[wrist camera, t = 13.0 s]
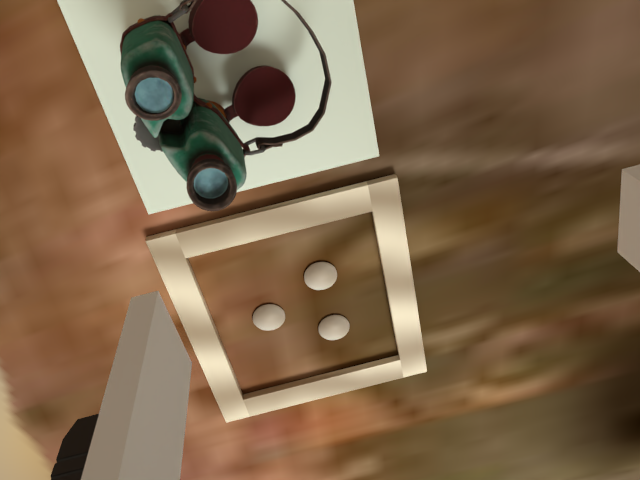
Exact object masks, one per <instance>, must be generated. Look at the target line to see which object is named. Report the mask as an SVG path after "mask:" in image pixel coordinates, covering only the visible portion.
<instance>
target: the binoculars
mask: <svg viewBox="0 0 640 480" xmlns="http://www.w3.org/2000/svg"><path fill="white" fill-rule="evenodd" d="M281 1H282V2H283V3H284V4H286V5H287V6H288V7H289V8H290V9H291V10H292V11H293V12H294V13H295V14H296V16H297V17H298V18H299V19H300V21H301V22H302V23H303V25H304V26H305V27H306V29H307V30H308V32H309V34H310V36H311V37H312V39H313V41H314V43H315V45H316V46H317V48H318V50H319V53H320V57H321V62H322V66H323V71H324V76H325V81H324V86H323V91H322V96H321V100H320V105H319V109H318V110H317V112H316V113H315V115H314V116H313V118H312V119H311V121H310V122H309V124H307V125H306V126H304V127H302V128H300V129H298V130H296V131H294V132H293V133H289V134H285V135H281V136H277V137H273V138H272V137H256V138H253V139H251V140H249V141H247V142H245V143H243V142H242V141H241V139H240V138H239V137H238V135H237V133H236V131H235V130H234V129H233V128H232V126H231V125H230V124H229V123H230V121H231V120H232V119H233V118H235V117H237V116H239V118H240V119H242V120H243V121H245V122H246V123H249V124H251V125H255V126H272V125H276V124H278V123H281V122H282V121H284V120H285V119H286V118H287V117H288V116H289V115H290V113H291V112H292V110H293V108H294V104H295V98H296V94H295V88H294V85H293V83H292V81H291V80H290V78H289V77H288V76H287V75H286V74H285V73H284V72H282V71H281V70H279V69H277V68H274V67H271V66H264V65H263V66H256V67H254V68H251V69H250V70H248V71H247V72H245V74H244V75H243V76H242V77H241V78H240V79H239V81H238V82H237V84H236V86H235V89H234V92H233V96H232V105H230V106H228V107H226V108H225V109H224V108H223V107H222V106H221V105H220V104H218V103H216V102H213V101H210V100H205V99H202V98H197V97H196V96H195V94H194V83H196V81H197V78H196V77H195V76H194V69H193V66H192V64H191V61H190V59H189V57H188V55H187V52H186V49H187V46H188V45H189V44H190V43H192V42H194V41H195V42H196V43H197V44H198V45H199V46H200V47H201V48H203V49H204V50H206V51H209V52H212V53H216V54H232V53H236V52H238V51H241V50H243V49H244V48H245V47H247V46H248V45H249V44H250V43H251V42H252V40H253V38H254V37H255V35H256V32H257V28H258V15H257V11H256V8H255V6H254V4H253V3H252V1H251V0H184V1H182V2H181V3H180V5H179V6H178V7H177V8H176V9H174V10H173V11H172V12H171V13H168V14H167V15H166V16H160V15H154V16H151V17H148V18H145V19H142V18H140V19H139V20H138V22H137V23H135V24H133V25H131V26H129V27H128V28H127V29H126V30H125V31H124V32H123V34H122V38H121V43H120V52H121V63H120V64H121V73H122V77H123V80H124V84H125V86H126V91H125V100H126V104H127V106H128V107H129V109H130V110H131V111H132V112H133V113H134V114H135V115H136V117H135V121H136V122H135V123H134V127H133V130H134V131H135V132H136V135H135V137H136V139H137V140H139V141H140V142H141V143H142V146H143V147H145V148H146V147H147V148H149V149H151V151H154V152H155V151H156V150H160V151H161V152H164V154H165V155H166V157H167V158H168V160H169V162H170V163H171V164H172V166H173V167H174V168H175V170H176V171H177V172H178V174H179V175H180V176H181V177H182V178H183V179H184V180H185V181H186V182H187V187H186V188H187V193H188V195H189V197H190V199H191V200H192V202H193V203H194V204H195V205H196V206H198V207H199V208H201V209H203V210H207V211H218V210H221V209H224V208H226V207H227V206H228V205H230V203H231V202H232V201H233V200H234V198H235V196H236V192H237V190H238V189H239V188H241V187H242V186H243V184H244V183H245V180H246V175H247V172H246V165H245V159H244V158H245V156H246V155H255V154H259V153H263V152H264V151H265V150H267V149H269V148H272V147H282V145H283V143H287V142H291V141H295V140H297V139H299V138H301V137H303V136H305V135H307V134H308V133H310V132H312V131H314V129H315V128H316V126H317V125H318V123H319V122H320V120H321V119H322V117H323V116H324V114H325V111H326V106H327V102H328V97H329V92H330V88H331V83H332V82H331V77H330V72H329V68H328V63H327V58H326V54H325V52H324V50H323V48H322V47H321V45H320V43H319V41H318V39H317V37H316V36H315V34H314V32H313V31H312V29H311V28H310V27H309V25H308V24H307V23H306V21H305V20H304V19H303V17H302V16H301V15H300V13H299V12H298V11H297V10H295V9H294V8H293V7H292V6H291V5H290V4H289V3H288V2H287V1H286V0H281ZM190 2H191V3H190ZM188 3H190V4H189V5H187V4H188ZM190 10H191V11H190ZM189 11H190V15H189V20H188V25H189V28H187V29H185V30H183V31H182V32H181V33H180V34H179V33H178V32H177V29H176V27H175V25H174V22H173V21H175V20H176V19H178V18H179V17H180V16H182V15H183V14H187V13H188V12H189ZM254 142H255V143H256V146H257V148H258V150H254V151H250V148H249V146H248V145H250V144H252V143H254ZM242 147H243V149H242Z"/></svg>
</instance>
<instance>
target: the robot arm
mask: <svg viewBox="0 0 640 480" xmlns="http://www.w3.org/2000/svg"><path fill="white" fill-rule="evenodd" d="M617 252H618V253H619V254H620V255H621V256H622V257H624V258H625V259H626V260H627V261H628V262H629V263H630V264H631V265H632V266H634V267H635V268H636V269H637V270H638V271H639V272H640V165H636V166H633V167H629V168H625V169H622V178H621V196H620V214H619V232H618V251H617ZM191 367H192V362H191V360H190V358H189V355H188V353H187V351H186V349H185V347H184V345H183V343H182V341H181V338H180V336H179V334H178V332H177V330H176V328H175V326H174V323H173V321H172V319H171V317H170V315H169V313H168V311H167V308H166V306H165V304H164V302H163V300H162V298H161V296H160V294H159V291H155V292H151V293H148V294H144V295H140V296H136V297H132V298H131V301H130V304H129V308H128V311H127V315H126V319H125V322H124V326H123V329H122V333H121V337H120V340H119V344H118V347H117V351H116V355H115V358H114V362H113V365H112V369H111V373H110V376H109V380H108V383H107V387H106V391H105V394H104V398H103V401H102V405H101V409H100V412H99V414H96V415H92V416H89V417H85V418H81V419H77V421H76V422H75V424H74V425H73V426H72V428H71V429H70V430H69V432H68V433H67V435H66V436H65V437H64V439H63V441H62V444H61V447H60V450H59V453H58V456H57V459H56V460H57V463H56V464H55V465H54V468H53V471H52V474H51V480H180V474H181V464H182V454H183V445H184V435H185V425H186V416H187V406H188V396H189V387H190V377H191Z"/></svg>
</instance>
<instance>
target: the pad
mask: <svg viewBox="0 0 640 480" xmlns="http://www.w3.org/2000/svg"><path fill="white" fill-rule="evenodd" d="M57 1H58V4H59V6H60V8H61V11H62V13H63V15H64V18H65V20H66V22H67V25H68V27H69V29H70V32H71V34H72V36H73V39H74V41H75V43H76V46H77V48H78V50H79V53H80V55H81V57H82V60H83V62H84V64H85V67H86V69H87V71H88V74H89V76H90V78H91V81H92V83H93V85H94V88H95V90H96V93H97V95H98V97H99V100H100V102H101V104H102V107H103V109H104V111H105V114H106V116H107V118H108V121H109V123H110V125H111V128H112V130H113V132H114V135H115V137H116V139H117V142H118V144H119V146H120V149H121V151H122V153H123V156H124V158H125V160H126V163H127V165H128V167H129V170H130V172H131V174H132V177H133V179H134V181H135V184H136V186H137V188H138V191H139V193H140V195H141V198H142V200H143V202H144V205H145V207H146V209H147V212H148V214H152V213H156V212H160V211H164V210H168V209H172V208H176V207H180V206H184V205H188V204H192V203H193V202H192V200H191V199H190V197H189V195H188V193H187V188H186V187H187V182H186V181H185V180H184V179H183V178H182V177H181V176H180V175H179V174H178V172H177V171H176V170H175V168H174V167H173V166H172V164H171V163H170V162H169V160H168V158H167V157H166V155H165V154H164V152H161V151H160V150H156V151H155V152H154V151H151V149H149V148H147V147H146V148H145V147H143V146H142V143H141V142H140V141H139V140H137V139H136V137H135V135H136V132H135V131H134V130H133V127H134V123H135V122H136V121H135V117H136V115H135V114H134V113H133V112H132V111H131V110H130V109H129V107H128V106H127V104H126V100H125V91H126V86H125V84H124V80H123V77H122V73H121V64H120V63H121V52H120V43H121V38H122V34H123V32H124V31H125V30H126V29H127V28H128V27H129V26H131V25H133V24H135V23H137V22H138V20H139V19H140V18H142V19H145V18H148V17H151V16H154V15H160V16H166V15H167V14H168V13H171V12H172V11H173V10H174V9H176V8H177V7H178V6H179V5H180V3H181V2H182V1H184V0H57ZM251 1H252V3H253V4H254V6H255V8H256V11H257V15H258V28H257V32H256V35H255V37H254V38H253V40H252V42H251V43H250V44H249V45H248V46H247V47H245V48H244V49H243V50H241V51H238V52H236V53H232V54H216V53H212V52H209V51H206V50H204V49H203V48H201V47H200V46H199V45H198V44H197V43H196V42H195V41H194V42H192V43H190V44H189V45H188V46H187V49H186V52H187V55H188V57H189V59H190V61H191V64H192V66H193V69H194V76H195V77H196V78H197V81H196V83H194V94H195V96H196V97H197V98H202V99H205V100H210V101H213V102H216V103H218V104H220V105H221V106H222V107H223V108H224V109H225V108H226V107H228V106H230V105H232V96H233V92H234V89H235V86H236V84H237V82H238V81H239V79H240V78H241V77H242V76H243V75H244V74H245V72H247V71H248V70H250V69H251V68H254V67H256V66H263V65H264V66H271V67H274V68H277V69H279V70H281V71H282V72H284V73H285V74H286V75H287V76H288V77H289V78H290V80H291V81H292V83H293V85H294V88H295V94H296V98H295V104H294V108H293V110H292V112H291V113H290V115H289V116H288V117H287V118H286V119H285V120H284V121H282V122H281V123H278V124H276V125H272V126H255V125H251V124H249V123H246V122H245V121H243V120H242V119H240V118H239V116H237V117H235V118H233V119H232V120H231V121H230V123H229V124H230V125H231V126H232V128H233V129H234V130H235V131H236V133H237V135H238V137H239V138H240V139H241V141H242V142H243V143H245V142H247V141H249V140H251V139H253V138H256V137H272V138H273V137H277V136H281V135H285V134H289V133H293V132H294V131H296V130H298V129H300V128H302V127H304V126H306V125H307V124H309V122H310V121H311V119H312V118H313V116H314V115H315V113H316V112H317V110H318V109H319V105H320V100H321V96H322V91H323V86H324V81H325V76H324V71H323V66H322V62H321V57H320V53H319V50H318V48H317V46H316V45H315V43H314V41H313V39H312V37H311V36H310V34H309V32H308V30H307V29H306V27H305V26H304V25H303V23H302V22H301V21H300V19H299V18H298V17H297V16H296V14H295V13H294V12H293V11H292V10H291V9H290V8H289V7H288V6H287V5H286V4H284V3H283V2H282V1H281V0H251ZM286 1H287V2H288V3H289V4H290V5H291V6H292V7H293V8H294V9H295V10H297V11H298V12H299V13H300V15H301V16H302V17H303V19H304V20H305V21H306V23H307V24H308V25H309V27H310V28H311V29H312V31H313V32H314V34H315V36H316V37H317V39H318V41H319V43H320V45H321V47H322V48H323V50H324V52H325V54H326V58H327V63H328V68H329V72H330V77H331V82H332V83H331V88H330V92H329V97H328V102H327V106H326V111H325V114H324V116H323V117H322V119H321V120H320V122H319V123H318V125H317V126H316V128H315V129H314V131H312V132H310V133H308V134H307V135H305V136H303V137H301V138H299V139H297V140H295V141H291V142H287V143H283V145H282V147H272V148H269V149H267V150H265V151H264V152H263V153H259V154H255V155H246V156H245V158H244V159H245V165H246V172H247V175H246V180H245V183H244V184H243V186H242V187H241V188H239V189H238V190H237V192H239V191H243V190H247V189H251V188H255V187H259V186H263V185H267V184H271V183H275V182H279V181H283V180H287V179H291V178H295V177H299V176H303V175H307V174H311V173H315V172H319V171H323V170H327V169H331V168H334V167H338V166H342V165H346V164H350V163H354V162H358V161H362V160H366V159H370V158H374V157H378V156H379V151H378V145H377V139H376V133H375V127H374V121H373V115H372V109H371V103H370V97H369V91H368V85H367V79H366V73H365V67H364V61H363V55H362V49H361V43H360V37H359V31H358V25H357V19H356V13H355V7H354V1H353V0H286ZM190 3H191V2H190ZM190 3H188V4H187V5H189V4H190ZM190 11H191V10H190ZM190 11H189V12H188V13H187V14H183V15H182V16H180V17H179V18H178V19H176V20H175V21H173V22H174V25H175V27H176V29H177V32H178V33H179V34H180V33H181V32H182V31H183V30H185V29H187V28H189V25H188V20H189V15H190ZM248 146H249V148H250V151H254V150H258V148H257V146H256V143H255V142H254V143H252V144H250V145H248ZM242 149H243V147H242Z"/></svg>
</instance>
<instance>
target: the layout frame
mask: <svg viewBox="0 0 640 480" xmlns="http://www.w3.org/2000/svg"><path fill="white" fill-rule="evenodd" d="M371 211H372V216H373V221H374V227H375V232H376V237H377V243H378V248H379V254H380V259H381V264H382V270H383V275H384V281H385V286H386V291H387V297H388V302H389V307H390V313H391V318H392V324H393V329H394V334H395V340H396V345H397V350H398V355H396V356H392V357H388V358H384V359H380V360H376V361H372V362H368V363H365V364H361V365H357V366H353V367H349V368H345V369H341V370H337V371H333V372H329V373H325V374H321V375H317V376H313V377H309V378H306V379H302V380H298V381H294V382H290V383H286V384H282V385H278V386H274V387H270V388H266V389H262V390H258V391H254V392H250V393H246V394H243V393H242V391H241V388H240V386H239V383H238V381H237V378H236V376H235V374H234V371H233V369H232V366H231V364H230V361H229V359H228V356H227V354H226V351H225V349H224V346H223V344H222V341H221V339H220V336H219V334H218V332H217V329H216V327H215V324H214V322H213V319H212V317H211V314H210V312H209V309H208V307H207V304H206V302H205V299H204V297H203V294H202V292H201V290H200V287H199V285H198V282H197V280H196V277H195V275H194V272H193V270H192V267H191V265H190V262H189V260H188V258H189V257H193V256H197V255H201V254H205V253H209V252H213V251H217V250H221V249H225V248H229V247H233V246H237V245H241V244H245V243H249V242H253V241H257V240H261V239H265V238H269V237H273V236H276V235H280V234H284V233H288V232H292V231H296V230H300V229H304V228H308V227H312V226H316V225H320V224H324V223H328V222H332V221H336V220H340V219H344V218H348V217H352V216H356V215H360V214H364V213H367V212H371ZM146 243H147V245H148V248H149V250H150V252H151V254H152V257H153V259H154V261H155V263H156V266H157V268H158V270H159V272H160V275H161V277H162V279H163V281H164V284H165V286H166V288H167V290H168V293H169V295H170V297H171V299H172V302H173V304H174V306H175V308H176V311H177V313H178V315H179V317H180V320H181V322H182V324H183V326H184V329H185V331H186V333H187V335H188V338H189V340H190V342H191V344H192V347H193V349H194V351H195V353H196V356H197V358H198V360H199V362H200V365H201V367H202V369H203V371H204V374H205V376H206V378H207V380H208V383H209V385H210V387H211V390H212V392H213V394H214V396H215V399H216V401H217V403H218V405H219V408H220V410H221V412H222V414H223V417H224V419H225V421H226V422H230V421H234V420H238V419H242V418H246V417H250V416H254V415H258V414H262V413H266V412H269V411H273V410H277V409H281V408H285V407H289V406H293V405H297V404H301V403H305V402H309V401H313V400H317V399H321V398H325V397H328V396H332V395H336V394H340V393H344V392H348V391H352V390H356V389H360V388H364V387H368V386H372V385H376V384H380V383H383V382H387V381H391V380H395V379H399V378H403V377H407V376H411V375H415V374H419V373H423V372H427V368H426V362H425V355H424V348H423V342H422V335H421V329H420V322H419V316H418V309H417V302H416V296H415V289H414V283H413V276H412V270H411V263H410V257H409V250H408V243H407V237H406V230H405V224H404V217H403V211H402V204H401V198H400V191H399V184H398V178H397V176H396V174H393V175H389V176H385V177H381V178H377V179H373V180H369V181H365V182H361V183H357V184H353V185H349V186H346V187H342V188H338V189H334V190H330V191H326V192H322V193H318V194H314V195H310V196H306V197H302V198H298V199H294V200H290V201H286V202H282V203H278V204H274V205H270V206H266V207H262V208H258V209H254V210H250V211H246V212H242V213H239V214H235V215H231V216H227V217H223V218H219V219H215V220H211V221H207V222H203V223H199V224H195V225H191V226H187V227H183V228H179V229H175V230H171V231H167V232H163V233H159V234H155V235H151V236H147V238H146ZM336 279H337V271H336V269H335V267H334V266H333V265H332V264H330V263H328V262H316V263H314V264H312V265H310V266H309V267H308V268H307V269H306V271H305V273H304V280H305V283H306V284H307V285H308V286H309V287H310V288H312V289H315V290H323V289H327V288H329V287H330V286H332V285H333V284H334V283H335V281H336ZM284 320H285V313H284V311H283V309H282V308H281V307H279V306H277V305H274V304H266V305H262V306H260V307H259V308H257V309H256V310H255V312H254V314H253V322H254V324H255V325H256V326H257V327H258V328H260V329H262V330H274V329H277V328H278V327H280V326H281V325H282V324H283V322H284ZM318 330H319V333H320V335H321V336H322V337H323V338H325V339H328V340H337V339H340V338H342V337H343V336H345V335H346V334H347V332H348V331H349V322H348V320H347V319H346V318H345V317H343V316H341V315H330V316H328V317H326V318H324V319H323V320H322V321H321V322H320V324H319V327H318Z"/></svg>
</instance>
